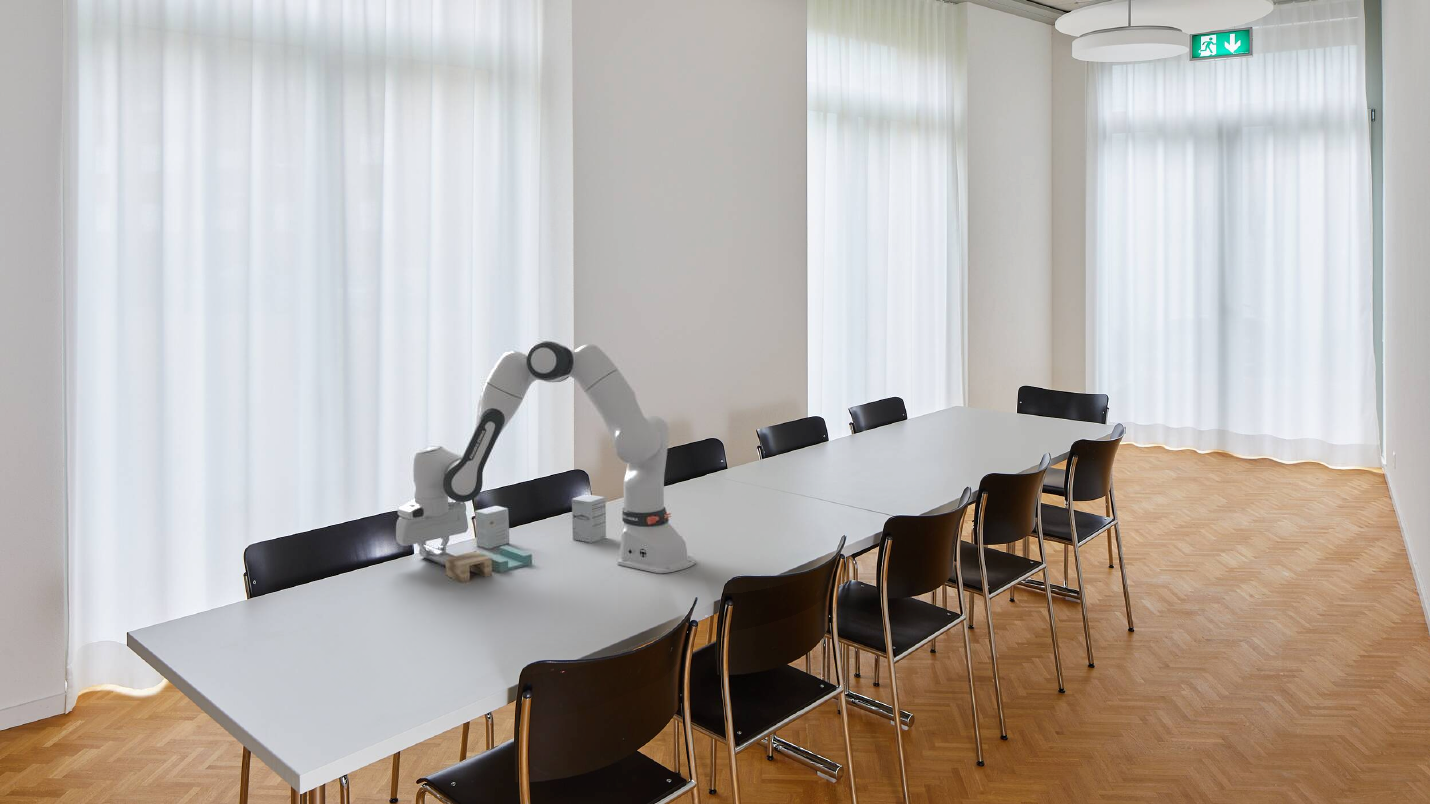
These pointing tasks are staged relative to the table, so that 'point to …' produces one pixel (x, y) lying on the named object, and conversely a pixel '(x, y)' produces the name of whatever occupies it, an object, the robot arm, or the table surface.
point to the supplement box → (589, 518)
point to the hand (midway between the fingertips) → (434, 554)
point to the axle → (436, 555)
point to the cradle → (509, 558)
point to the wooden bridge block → (468, 565)
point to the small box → (492, 527)
